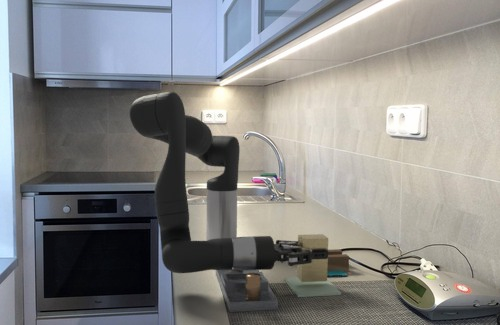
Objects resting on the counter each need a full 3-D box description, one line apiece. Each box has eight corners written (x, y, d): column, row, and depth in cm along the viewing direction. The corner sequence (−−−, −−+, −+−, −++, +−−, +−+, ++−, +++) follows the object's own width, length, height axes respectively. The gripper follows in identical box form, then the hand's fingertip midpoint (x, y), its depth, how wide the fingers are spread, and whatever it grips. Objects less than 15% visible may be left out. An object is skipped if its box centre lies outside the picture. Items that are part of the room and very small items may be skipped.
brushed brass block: (296, 276, 122) (298, 234, 121) (321, 275, 123) (322, 234, 123) (301, 282, 118) (302, 238, 118) (327, 281, 120) (328, 238, 119)
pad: (284, 280, 126) (284, 278, 126) (324, 278, 128) (324, 276, 128) (297, 297, 114) (297, 294, 114) (341, 295, 116) (341, 292, 116)
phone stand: (303, 265, 139) (303, 250, 139) (339, 263, 141) (339, 249, 140) (311, 273, 132) (311, 257, 132) (348, 271, 134) (349, 256, 133)
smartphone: (330, 258, 144) (348, 274, 129) (330, 261, 144) (348, 277, 130) (304, 259, 143) (319, 276, 128) (304, 262, 143) (319, 279, 128)
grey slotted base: (215, 274, 130) (215, 246, 129) (255, 272, 132) (255, 245, 131) (229, 312, 105) (230, 278, 105) (278, 309, 107) (278, 276, 106)
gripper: (257, 244, 111) (335, 242, 114) (246, 229, 124) (315, 228, 128) (257, 279, 111) (334, 276, 114) (245, 260, 125) (314, 258, 128)
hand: (324, 251), depth 121 cm, fingers closed on brushed brass block, 4 cm apart
